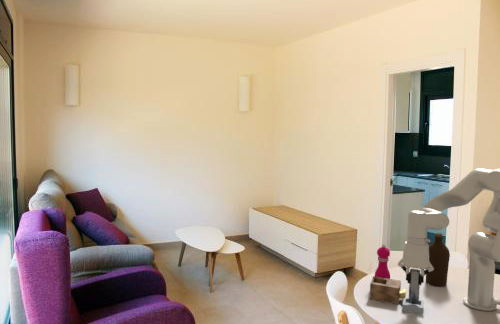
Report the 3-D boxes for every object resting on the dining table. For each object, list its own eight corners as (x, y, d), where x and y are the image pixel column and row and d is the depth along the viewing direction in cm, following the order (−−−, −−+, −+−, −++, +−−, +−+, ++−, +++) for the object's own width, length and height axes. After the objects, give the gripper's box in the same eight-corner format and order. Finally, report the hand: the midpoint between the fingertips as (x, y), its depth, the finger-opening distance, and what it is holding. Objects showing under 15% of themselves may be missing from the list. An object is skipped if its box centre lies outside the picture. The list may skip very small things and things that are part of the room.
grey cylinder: (418, 301, 171) (420, 269, 170) (418, 305, 167) (420, 272, 166) (408, 299, 173) (410, 267, 171) (408, 303, 169) (409, 270, 168)
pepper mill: (372, 285, 195) (374, 245, 193) (375, 280, 201) (377, 241, 200) (388, 288, 192) (390, 247, 190) (391, 283, 198) (392, 243, 196)
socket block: (400, 295, 184) (400, 280, 183) (398, 304, 175) (399, 288, 174) (372, 290, 189) (373, 276, 188) (369, 298, 180) (370, 283, 179)
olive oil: (441, 289, 192) (444, 237, 190) (420, 282, 200) (422, 232, 198) (451, 284, 199) (454, 234, 196) (430, 277, 207) (433, 229, 205)
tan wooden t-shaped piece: (405, 297, 180) (405, 289, 180) (404, 301, 176) (405, 292, 176) (388, 294, 183) (388, 286, 183) (387, 298, 179) (387, 289, 179)
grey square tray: (423, 306, 172) (423, 300, 172) (423, 314, 165) (423, 308, 165) (403, 303, 176) (403, 297, 175) (402, 310, 168) (402, 304, 168)
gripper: (438, 240, 168) (436, 283, 169) (396, 235, 175) (394, 277, 176) (438, 245, 161) (436, 290, 163) (394, 240, 168) (392, 282, 169)
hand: (414, 282), depth 169 cm, fingers closed on grey cylinder, 4 cm apart
